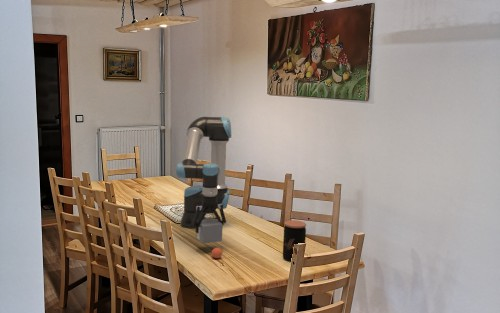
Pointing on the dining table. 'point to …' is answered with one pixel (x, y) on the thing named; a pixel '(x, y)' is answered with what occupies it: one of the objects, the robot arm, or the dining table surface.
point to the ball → (216, 252)
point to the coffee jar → (293, 237)
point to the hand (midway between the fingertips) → (208, 237)
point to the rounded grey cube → (210, 231)
